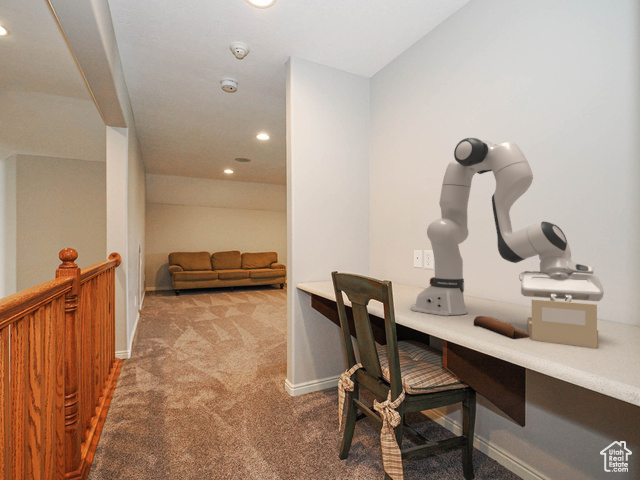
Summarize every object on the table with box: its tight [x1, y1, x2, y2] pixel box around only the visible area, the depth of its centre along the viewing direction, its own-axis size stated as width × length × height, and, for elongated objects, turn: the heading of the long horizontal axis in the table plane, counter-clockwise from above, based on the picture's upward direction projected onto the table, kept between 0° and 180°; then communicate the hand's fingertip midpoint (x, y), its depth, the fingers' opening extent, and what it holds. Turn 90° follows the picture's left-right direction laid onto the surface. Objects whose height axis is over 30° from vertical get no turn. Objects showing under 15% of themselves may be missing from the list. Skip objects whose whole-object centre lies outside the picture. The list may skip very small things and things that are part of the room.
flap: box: [531, 298, 598, 349], centre depth 93 cm, size 15×1×12 cm, turn 60°
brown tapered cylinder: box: [473, 315, 530, 340], centre depth 106 cm, size 18×7×7 cm
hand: (562, 308), depth 95 cm, fingers closed
